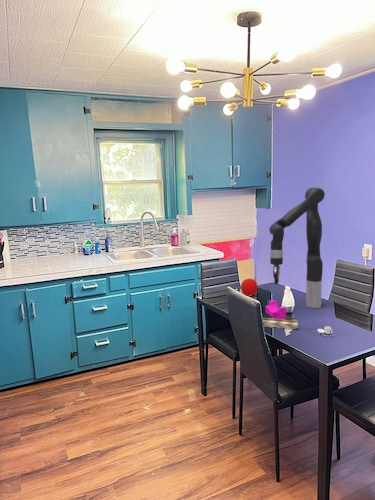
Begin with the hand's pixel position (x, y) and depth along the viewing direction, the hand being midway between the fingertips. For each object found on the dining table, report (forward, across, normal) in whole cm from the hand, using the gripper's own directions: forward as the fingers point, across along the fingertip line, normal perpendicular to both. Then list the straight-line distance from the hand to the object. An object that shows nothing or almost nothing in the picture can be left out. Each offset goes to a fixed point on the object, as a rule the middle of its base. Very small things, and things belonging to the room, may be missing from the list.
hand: (276, 283), depth 234 cm
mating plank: (+17, -28, -5) cm, 34 cm away
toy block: (+18, -12, -1) cm, 21 cm away
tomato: (+17, +23, +22) cm, 36 cm away
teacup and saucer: (+18, -29, -30) cm, 45 cm away
